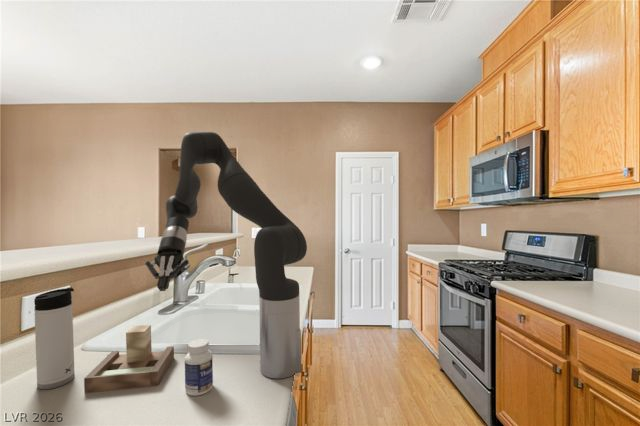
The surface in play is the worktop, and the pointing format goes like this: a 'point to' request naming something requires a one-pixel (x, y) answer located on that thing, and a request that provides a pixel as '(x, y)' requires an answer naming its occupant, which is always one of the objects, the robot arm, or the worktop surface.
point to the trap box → (128, 371)
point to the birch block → (138, 343)
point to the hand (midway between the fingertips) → (162, 289)
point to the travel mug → (54, 338)
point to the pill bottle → (198, 368)
